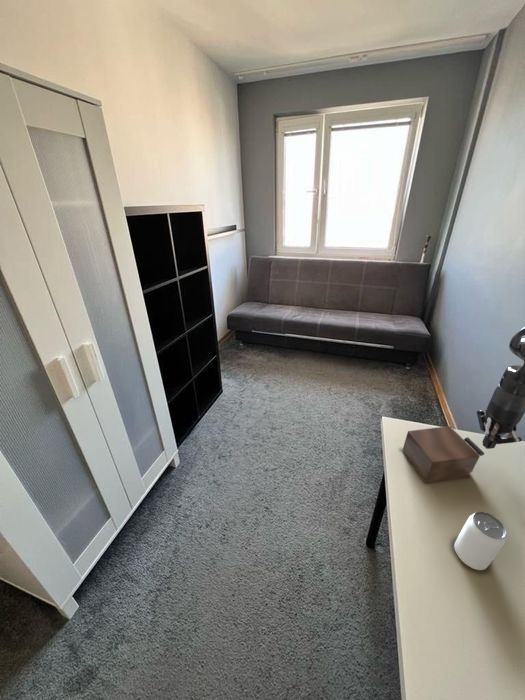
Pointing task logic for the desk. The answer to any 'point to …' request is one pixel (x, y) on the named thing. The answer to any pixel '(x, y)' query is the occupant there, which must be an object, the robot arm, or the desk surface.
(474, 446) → the drawer
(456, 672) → the desk surface
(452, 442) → the cabinet
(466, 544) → the can
